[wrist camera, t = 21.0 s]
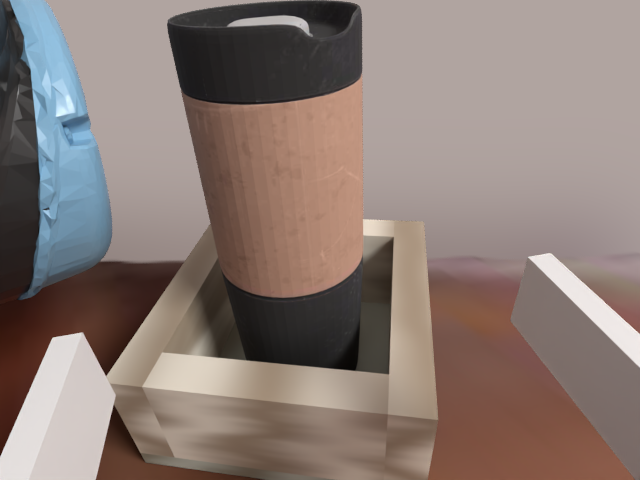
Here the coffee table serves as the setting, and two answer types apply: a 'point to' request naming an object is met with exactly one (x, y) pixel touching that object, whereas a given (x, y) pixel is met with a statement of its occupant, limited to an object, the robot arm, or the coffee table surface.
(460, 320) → the coffee table surface
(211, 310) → the well
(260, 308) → the travel mug
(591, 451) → the coffee table surface
